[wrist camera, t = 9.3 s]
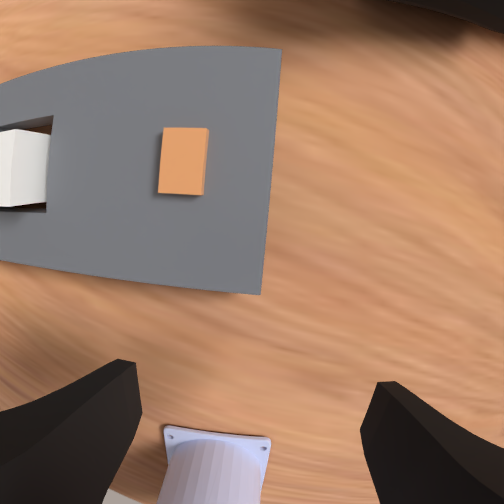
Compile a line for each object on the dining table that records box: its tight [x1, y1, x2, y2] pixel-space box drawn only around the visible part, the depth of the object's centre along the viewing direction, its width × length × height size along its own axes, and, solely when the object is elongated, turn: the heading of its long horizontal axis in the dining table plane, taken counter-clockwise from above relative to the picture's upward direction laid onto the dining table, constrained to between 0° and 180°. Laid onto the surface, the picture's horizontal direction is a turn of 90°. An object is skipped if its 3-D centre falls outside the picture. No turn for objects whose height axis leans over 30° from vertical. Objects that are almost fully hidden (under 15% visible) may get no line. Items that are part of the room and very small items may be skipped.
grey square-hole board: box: [0, 46, 282, 295], centre depth 14 cm, size 12×22×3 cm, turn 85°
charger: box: [0, 129, 51, 207], centre depth 14 cm, size 4×4×5 cm
